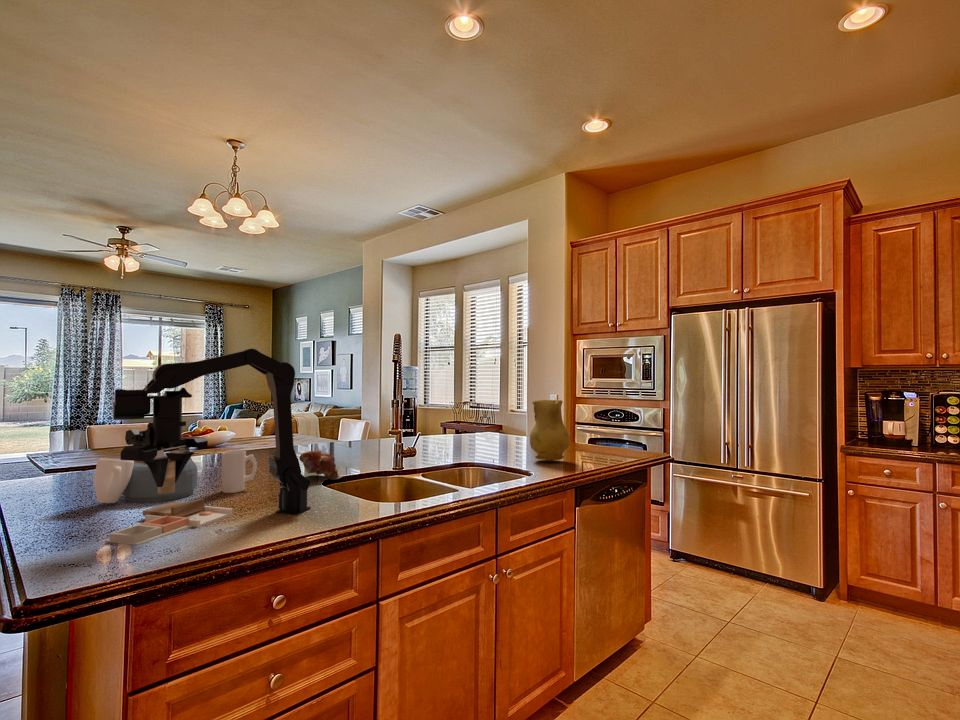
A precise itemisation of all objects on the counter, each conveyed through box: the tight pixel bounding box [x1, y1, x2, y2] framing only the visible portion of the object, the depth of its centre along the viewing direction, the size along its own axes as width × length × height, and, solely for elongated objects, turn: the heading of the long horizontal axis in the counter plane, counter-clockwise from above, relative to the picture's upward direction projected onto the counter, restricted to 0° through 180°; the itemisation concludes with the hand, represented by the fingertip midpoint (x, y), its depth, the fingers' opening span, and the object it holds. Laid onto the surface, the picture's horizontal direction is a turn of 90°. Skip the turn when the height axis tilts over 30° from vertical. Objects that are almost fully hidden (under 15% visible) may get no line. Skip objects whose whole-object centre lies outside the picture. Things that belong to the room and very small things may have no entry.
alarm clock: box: [121, 452, 198, 503], centre depth 150 cm, size 19×20×12 cm
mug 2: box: [221, 449, 258, 494], centre depth 157 cm, size 10×7×12 cm, turn 119°
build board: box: [104, 515, 194, 546], centre depth 113 cm, size 9×14×2 cm, turn 164°
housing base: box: [144, 505, 234, 528], centre depth 126 cm, size 16×11×2 cm
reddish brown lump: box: [298, 450, 342, 481], centre depth 176 cm, size 16×13×10 cm
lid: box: [142, 497, 206, 517], centre depth 127 cm, size 10×9×3 cm
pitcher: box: [529, 399, 570, 461], centre depth 219 cm, size 17×19×25 cm
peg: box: [158, 460, 175, 494], centre depth 116 cm, size 3×3×7 cm
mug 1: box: [93, 457, 134, 504], centre depth 137 cm, size 12×8×11 cm
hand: (166, 485), depth 116 cm, fingers closed on peg, 3 cm apart
